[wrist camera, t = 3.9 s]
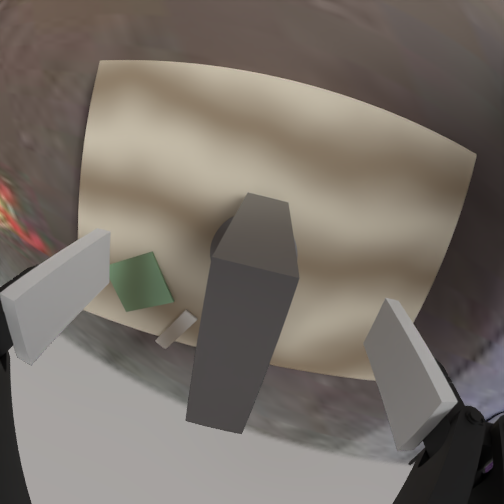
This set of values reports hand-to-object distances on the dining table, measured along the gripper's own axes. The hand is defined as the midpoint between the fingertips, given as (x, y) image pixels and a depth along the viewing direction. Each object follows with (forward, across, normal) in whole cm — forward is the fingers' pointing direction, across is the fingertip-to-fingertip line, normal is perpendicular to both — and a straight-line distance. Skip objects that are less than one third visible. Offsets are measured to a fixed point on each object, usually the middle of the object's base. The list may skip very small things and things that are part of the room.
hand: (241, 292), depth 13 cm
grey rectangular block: (+4, 0, -3) cm, 5 cm away
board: (+6, 0, +1) cm, 6 cm away
